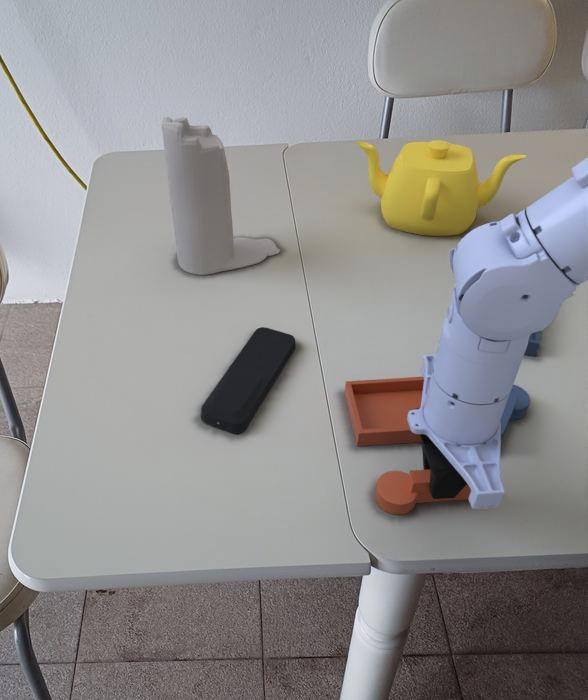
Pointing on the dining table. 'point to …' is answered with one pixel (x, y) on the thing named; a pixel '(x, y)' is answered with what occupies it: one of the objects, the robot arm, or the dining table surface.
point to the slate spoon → (514, 407)
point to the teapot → (433, 187)
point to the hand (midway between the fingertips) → (439, 485)
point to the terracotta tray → (383, 409)
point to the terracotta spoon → (408, 491)
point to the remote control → (248, 380)
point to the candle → (204, 202)
